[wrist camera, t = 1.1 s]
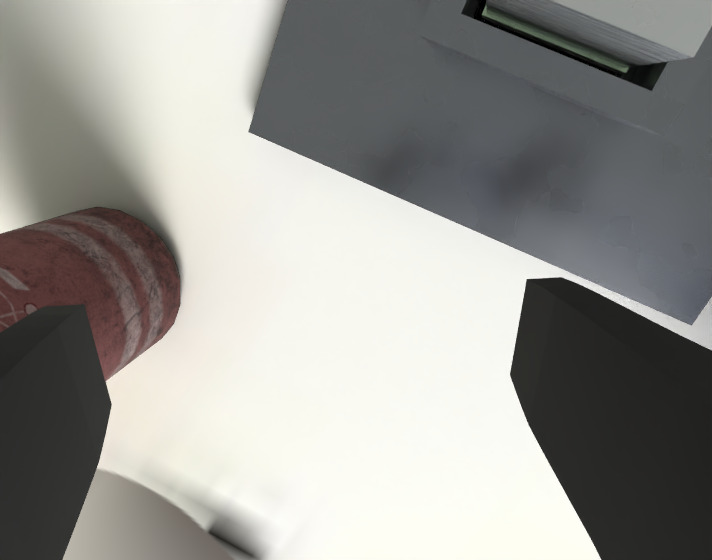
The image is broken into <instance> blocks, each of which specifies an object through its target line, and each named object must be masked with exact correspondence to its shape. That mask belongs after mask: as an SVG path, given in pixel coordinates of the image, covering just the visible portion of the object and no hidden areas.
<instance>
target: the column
mask: <svg viewBox="0 0 712 560" xmlns="http://www.w3.org/2000/svg"><path fill="white" fill-rule="evenodd" d="M482 18H483V19H486V20H487V21H489V22H492V23H494V24H496V25H499V26H501V27H504V28H506V29H509V30H511V31H514V32H516V33H519V34H521V35H524V36H526V37H528V38H531V39H533V40H536V41H538V42H541V43H543V44H546V45H548V46H551V47H553V48H556V49H558V50H560V51H563V52H565V53H568V54H570V55H573V56H575V57H578V58H580V59H583V60H585V61H588V62H590V63H592V64H595V65H597V66H600V67H602V68H605V69H607V70H612V71H614V72H617V73H619V74H622V73H626V72H627V70H628V68H629V67H634V66H641V65H647V64H654V63H660V62H667V61H673V60H680V59H686V58H693V57H694V56H695V54H696V53H697V51H698V49H699V47H700V46H701V44H702V42H703V40H704V39H705V37H706V35H707V33H708V32H709V30H710V28H711V27H712V0H486V6H485V8H484V10H483V13H482Z"/></svg>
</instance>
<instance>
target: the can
mask: <svg viewBox="0 0 712 560" xmlns="http://www.w3.org/2000/svg"><path fill="white" fill-rule="evenodd" d="M78 304H85V308H86V312H87V315H88V319H89V323H90V326H91V330H92V334H93V338H94V341H95V345H96V349H97V352H98V356H99V360H100V364H101V367H102V371H103V375H104V378H105V381H106V380H108V379H109V378H110V377H112V376H113V375H114V374H116V373H117V372H118V371H120V370H121V369H122V368H124V367H125V366H126V365H127V364H129V363H130V362H131V361H133V360H134V359H135V358H137V357H138V356H139V355H141V354H142V353H143V352H145V351H146V350H147V349H148V348H150V347H151V346H152V345H154V344H155V343H156V342H158V341H159V340H160V339H162V338H163V336H164V335H165V334H166V333H167V331H168V330H169V329H170V328H171V327H172V325H173V324H174V322H175V319H176V316H177V313H178V310H179V307H180V276H179V273H178V270H177V267H176V264H175V261H174V257H173V256H172V254H171V253H170V251H169V250H168V248H167V246H166V245H165V243H164V242H163V240H162V239H161V238H160V237H159V236H158V235H157V234H156V233H154V232H153V231H152V230H151V229H150V228H149V227H148V226H147V225H146V224H144V223H143V222H142V221H140V220H138V219H136V218H134V217H132V216H130V215H128V214H126V213H124V212H122V211H120V210H114V209H108V208H101V207H94V208H90V209H85V210H80V211H76V212H73V213H69V214H66V215H62V216H59V217H56V218H52V219H49V220H46V221H42V222H39V223H35V224H32V225H29V226H25V227H22V228H19V229H15V230H12V231H8V232H5V233H2V234H0V333H1V332H2V331H4V330H5V329H7V328H8V327H10V326H11V325H13V324H15V323H16V322H18V321H19V320H21V319H22V318H24V317H26V316H27V315H29V314H31V313H32V312H34V311H36V310H38V309H40V308H42V307H44V306H61V305H78Z"/></svg>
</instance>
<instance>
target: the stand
mask: <svg viewBox="0 0 712 560" xmlns="http://www.w3.org/2000/svg"><path fill="white" fill-rule="evenodd" d="M479 3H480V0H288V2H287V5H286V8H285V12H284V15H283V18H282V22H281V25H280V28H279V32H278V35H277V38H276V42H275V45H274V48H273V52H272V55H271V58H270V62H269V65H268V68H267V72H266V75H265V78H264V82H263V85H262V88H261V92H260V95H259V98H258V102H257V105H256V108H255V112H254V115H253V119H252V122H251V125H250V129H249V132H250V133H252V134H254V135H257V136H259V137H261V138H264V139H266V140H268V141H271V142H273V143H275V144H277V145H280V146H282V147H284V148H287V149H289V150H291V151H293V152H296V153H298V154H300V155H303V156H305V157H307V158H309V159H312V160H314V161H316V162H319V163H321V164H323V165H325V166H328V167H330V168H332V169H335V170H337V171H339V172H341V173H344V174H346V175H348V176H351V177H353V178H355V179H358V180H360V181H362V182H364V183H367V184H369V185H371V186H374V187H376V188H378V189H380V190H383V191H385V192H387V193H390V194H392V195H394V196H396V197H399V198H401V199H403V200H406V201H408V202H410V203H412V204H415V205H417V206H419V207H422V208H424V209H426V210H428V211H431V212H433V213H435V214H438V215H440V216H442V217H445V218H447V219H449V220H451V221H454V222H456V223H458V224H461V225H463V226H465V227H467V228H470V229H472V230H474V231H477V232H479V233H481V234H483V235H486V236H488V237H490V238H493V239H495V240H497V241H499V242H502V243H504V244H506V245H509V246H511V247H513V248H515V249H518V250H520V251H522V252H525V253H527V254H529V255H532V256H534V257H536V258H538V259H541V260H543V261H545V262H548V263H550V264H552V265H554V266H557V267H559V268H561V269H564V270H566V271H568V272H570V273H573V274H575V275H577V276H580V277H582V278H584V279H586V280H589V281H591V282H593V283H596V284H598V285H600V286H602V287H605V288H607V289H609V290H612V291H614V292H616V293H619V294H621V295H623V296H625V297H628V298H630V299H632V300H635V301H637V302H639V303H641V304H644V305H646V306H648V307H651V308H653V309H655V310H657V311H660V312H662V313H664V314H667V315H669V316H671V317H673V318H676V319H678V320H680V321H683V322H685V323H687V324H689V325H692V324H693V322H694V321H695V320H696V318H697V317H698V315H699V314H700V312H701V311H702V310H703V308H704V307H705V305H706V304H707V302H708V301H709V299H710V298H711V297H712V27H711V28H710V30H709V32H708V33H707V35H706V37H705V39H704V40H703V42H702V44H701V46H700V47H699V49H698V51H697V53H696V54H695V56H694V57H693V58H686V59H680V60H673V61H667V62H660V63H654V64H647V65H641V66H634V67H629V68H628V70H627V72H626V73H623V74H622V75H621V77H620V78H618V77H616V76H613V75H611V74H608V73H606V72H603V71H601V70H599V69H596V68H594V67H591V66H589V65H586V64H584V63H581V62H579V61H576V60H574V59H571V58H569V57H567V56H564V55H562V54H559V53H557V52H554V51H552V50H549V49H547V48H544V47H542V46H539V45H537V44H535V43H532V42H530V41H527V40H525V39H522V38H520V37H517V36H515V35H512V34H510V33H508V32H505V31H503V30H500V29H498V28H495V27H493V26H490V25H488V24H485V23H483V22H480V21H478V20H476V19H473V17H474V15H475V12H476V10H477V7H478V5H479Z"/></svg>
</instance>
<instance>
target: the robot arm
mask: <svg viewBox="0 0 712 560" xmlns="http://www.w3.org/2000/svg"><path fill="white" fill-rule="evenodd" d="M510 376H511V379H512V382H513V384H514V387H515V390H516V393H517V396H518V398H519V401H520V404H521V406H522V409H523V411H524V414H525V417H526V419H527V422H528V424H529V426H530V428H531V430H532V432H533V434H534V436H535V438H536V440H537V441H538V443H539V445H540V447H541V449H542V451H543V453H544V454H545V456H546V458H547V460H548V462H549V464H550V466H551V467H552V469H553V471H554V473H555V475H556V476H557V478H558V480H559V482H560V484H561V485H562V487H563V489H564V491H565V493H566V495H567V496H568V498H569V500H570V502H571V504H572V505H573V507H574V509H575V511H576V513H577V514H578V516H579V518H580V520H581V522H582V524H583V525H584V527H585V529H586V531H587V533H588V534H589V536H590V538H591V540H592V542H593V544H594V546H595V548H596V550H597V552H598V554H599V556H600V558H601V560H712V351H711V350H709V349H707V348H705V347H703V346H701V345H699V344H697V343H695V342H693V341H691V340H689V339H687V338H684V337H682V336H680V335H678V334H676V333H674V332H672V331H670V330H668V329H666V328H664V327H662V326H661V325H659V324H657V323H655V322H653V321H651V320H649V319H647V318H645V317H643V316H641V315H639V314H637V313H635V312H633V311H631V310H629V309H627V308H625V307H623V306H621V305H620V304H618V303H616V302H614V301H612V300H610V299H608V298H606V297H604V296H602V295H600V294H598V293H596V292H594V291H592V290H590V289H588V288H585V287H583V286H581V285H579V284H577V283H574V282H572V281H569V280H567V279H564V278H561V277H559V278H542V279H527V281H526V287H525V293H524V299H523V304H522V310H521V316H520V321H519V327H518V333H517V338H516V344H515V350H514V355H513V361H512V367H511V372H510ZM111 405H112V404H111V401H110V397H109V393H108V390H107V386H106V382H105V378H104V375H103V371H102V367H101V364H100V360H99V356H98V352H97V349H96V345H95V341H94V338H93V334H92V330H91V326H90V323H89V319H88V315H87V312H86V308H85V304H78V305H61V306H44V307H42V308H40V309H38V310H36V311H34V312H32V313H31V314H29V315H27V316H26V317H24V318H22V319H21V320H19V321H18V322H16V323H15V324H13V325H11V326H10V327H8V328H7V329H5V330H4V331H2V332H1V333H0V560H62V559H63V556H64V554H65V551H66V549H67V546H68V543H69V541H70V538H71V535H72V533H73V530H74V528H75V525H76V522H77V519H78V517H79V514H80V511H81V509H82V506H83V504H84V501H85V498H86V496H87V493H88V490H89V487H90V485H91V482H92V479H93V477H94V474H95V471H96V468H97V465H98V463H99V459H100V455H101V451H102V447H103V442H104V438H105V434H106V429H107V424H108V419H109V415H110V410H111Z"/></svg>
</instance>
